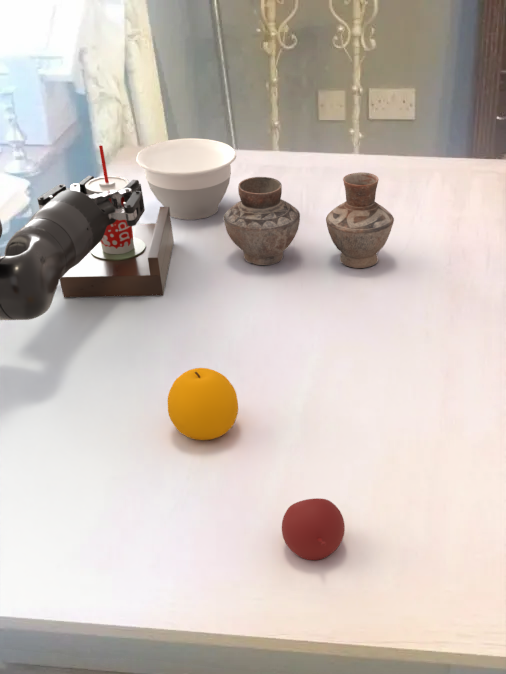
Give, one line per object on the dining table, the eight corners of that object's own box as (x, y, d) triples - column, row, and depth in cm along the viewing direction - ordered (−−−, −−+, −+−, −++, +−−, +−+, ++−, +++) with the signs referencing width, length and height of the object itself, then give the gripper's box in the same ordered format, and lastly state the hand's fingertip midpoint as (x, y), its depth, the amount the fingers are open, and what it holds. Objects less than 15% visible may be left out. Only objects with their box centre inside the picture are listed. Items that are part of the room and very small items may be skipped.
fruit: (286, 575, 89) (289, 549, 81) (277, 521, 90) (280, 491, 83) (346, 567, 90) (355, 541, 82) (337, 514, 91) (345, 483, 83)
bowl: (198, 183, 157) (193, 131, 151) (260, 208, 149) (256, 154, 143) (124, 209, 149) (115, 155, 143) (185, 237, 141) (178, 181, 135)
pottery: (391, 278, 131) (395, 194, 123) (221, 273, 132) (213, 189, 124) (392, 245, 139) (396, 164, 131) (232, 241, 140) (226, 160, 132)
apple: (224, 455, 100) (218, 397, 94) (160, 443, 101) (150, 385, 96) (250, 417, 105) (245, 359, 100) (188, 406, 107) (180, 349, 102)
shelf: (63, 297, 127) (55, 259, 123) (83, 244, 139) (76, 207, 136) (163, 295, 127) (157, 257, 123) (173, 242, 140) (169, 206, 136)
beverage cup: (105, 259, 128) (86, 155, 118) (90, 244, 132) (71, 142, 122) (145, 251, 130) (130, 148, 120) (130, 235, 134) (114, 135, 124)
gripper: (111, 207, 112) (159, 160, 123) (5, 197, 114) (62, 152, 126) (121, 265, 117) (166, 216, 129) (20, 255, 119) (73, 207, 131)
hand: (114, 185), depth 127 cm, fingers closed on beverage cup, 6 cm apart
